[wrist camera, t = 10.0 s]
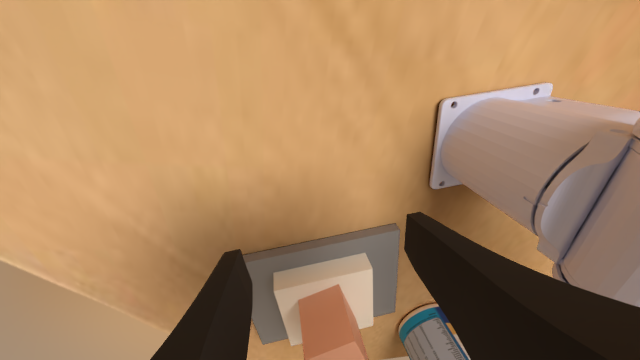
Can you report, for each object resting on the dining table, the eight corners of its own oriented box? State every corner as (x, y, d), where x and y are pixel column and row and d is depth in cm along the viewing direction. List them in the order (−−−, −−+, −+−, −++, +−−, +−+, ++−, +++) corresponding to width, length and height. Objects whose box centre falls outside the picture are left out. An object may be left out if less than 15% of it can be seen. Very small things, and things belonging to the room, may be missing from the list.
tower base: (395, 223, 24) (410, 244, 21) (391, 304, 30) (402, 328, 28) (231, 257, 22) (225, 285, 20) (263, 335, 29) (262, 364, 26)
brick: (338, 283, 22) (354, 340, 18) (355, 318, 25) (373, 374, 21) (298, 300, 22) (304, 360, 18) (319, 332, 25) (329, 390, 21)
